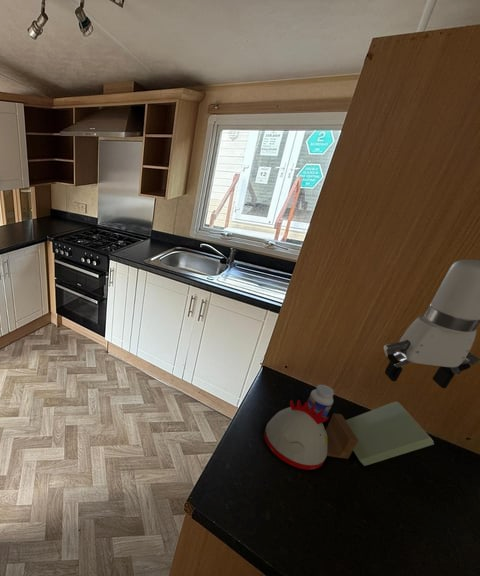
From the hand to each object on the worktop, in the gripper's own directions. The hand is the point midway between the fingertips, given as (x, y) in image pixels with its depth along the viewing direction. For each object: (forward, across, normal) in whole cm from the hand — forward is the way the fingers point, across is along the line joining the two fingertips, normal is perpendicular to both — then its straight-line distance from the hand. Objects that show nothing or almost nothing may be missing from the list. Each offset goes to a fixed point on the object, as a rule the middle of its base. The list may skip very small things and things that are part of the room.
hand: (413, 380), depth 73 cm
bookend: (+22, +12, +3) cm, 25 cm away
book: (+17, +1, +2) cm, 17 cm away
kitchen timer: (+22, +22, +5) cm, 32 cm away
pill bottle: (+22, +12, -7) cm, 27 cm away
